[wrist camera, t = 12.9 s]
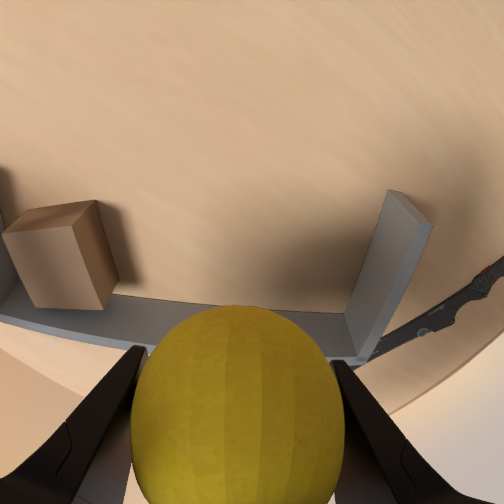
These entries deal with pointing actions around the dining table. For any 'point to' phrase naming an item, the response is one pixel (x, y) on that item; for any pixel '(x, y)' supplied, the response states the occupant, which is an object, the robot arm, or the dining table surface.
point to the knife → (440, 312)
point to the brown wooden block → (63, 256)
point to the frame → (173, 313)
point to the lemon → (237, 413)
